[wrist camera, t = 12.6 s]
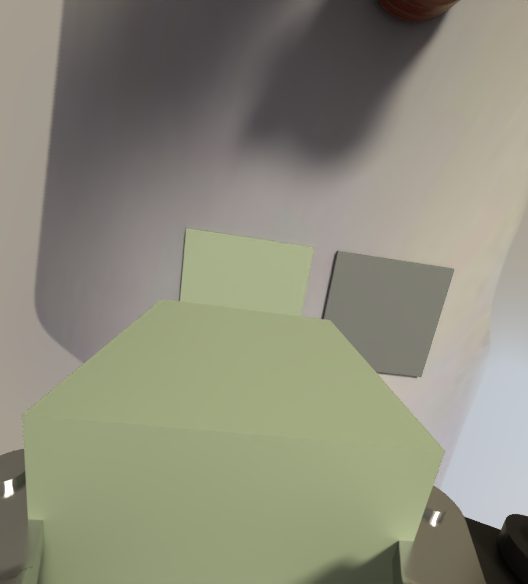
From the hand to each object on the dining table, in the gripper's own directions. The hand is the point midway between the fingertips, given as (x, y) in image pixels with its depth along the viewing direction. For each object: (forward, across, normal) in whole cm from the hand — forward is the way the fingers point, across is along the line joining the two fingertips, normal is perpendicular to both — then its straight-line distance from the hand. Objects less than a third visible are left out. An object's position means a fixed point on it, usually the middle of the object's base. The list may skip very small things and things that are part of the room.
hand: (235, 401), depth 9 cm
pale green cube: (+1, 0, 0) cm, 1 cm away
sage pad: (+14, 0, 0) cm, 14 cm away
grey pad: (+14, -12, 0) cm, 18 cm away
